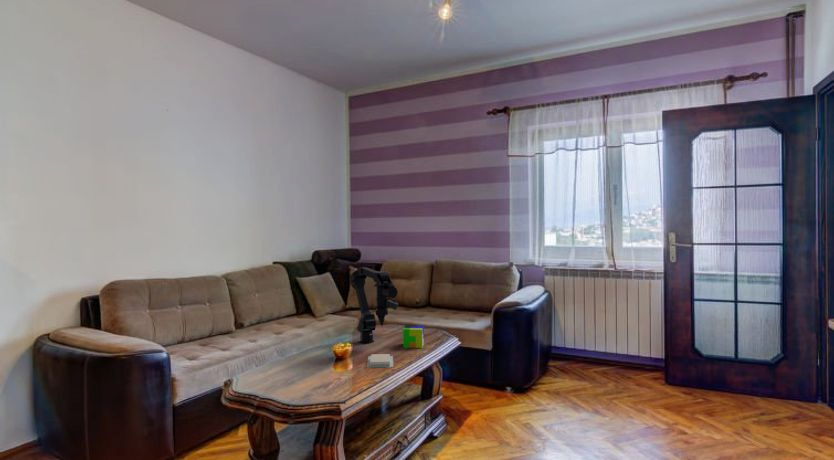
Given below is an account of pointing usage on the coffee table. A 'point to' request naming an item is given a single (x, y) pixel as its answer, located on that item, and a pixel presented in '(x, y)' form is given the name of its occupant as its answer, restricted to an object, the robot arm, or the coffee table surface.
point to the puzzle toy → (413, 336)
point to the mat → (383, 366)
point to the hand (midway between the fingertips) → (382, 325)
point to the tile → (380, 360)
